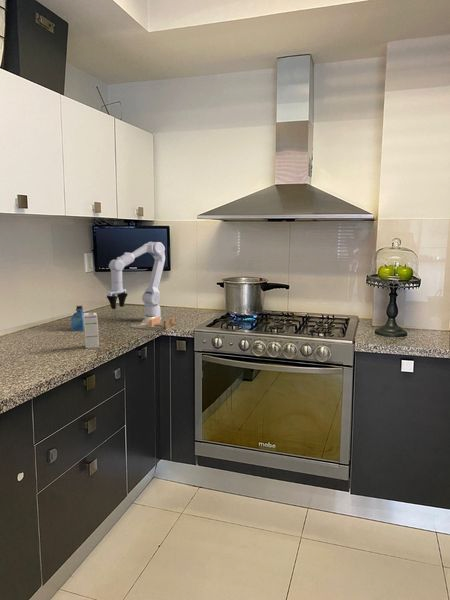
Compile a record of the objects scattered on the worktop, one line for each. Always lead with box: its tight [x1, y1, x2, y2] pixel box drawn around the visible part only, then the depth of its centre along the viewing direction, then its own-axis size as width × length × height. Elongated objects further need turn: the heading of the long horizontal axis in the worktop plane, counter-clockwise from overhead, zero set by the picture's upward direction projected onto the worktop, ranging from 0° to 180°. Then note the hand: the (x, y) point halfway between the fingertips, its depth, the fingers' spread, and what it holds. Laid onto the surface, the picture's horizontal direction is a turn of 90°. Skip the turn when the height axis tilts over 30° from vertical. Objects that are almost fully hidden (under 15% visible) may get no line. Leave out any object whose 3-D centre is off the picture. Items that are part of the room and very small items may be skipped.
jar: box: [144, 314, 155, 326], centre depth 239 cm, size 5×5×6 cm
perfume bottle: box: [70, 305, 87, 332], centre depth 231 cm, size 6×6×12 cm
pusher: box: [150, 317, 164, 327], centre depth 237 cm, size 9×5×4 cm, turn 160°
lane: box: [130, 316, 177, 332], centre depth 238 cm, size 12×20×5 cm, turn 70°
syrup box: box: [83, 312, 100, 349], centre depth 197 cm, size 6×6×14 cm
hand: (117, 307), depth 241 cm, fingers open, 7 cm apart
